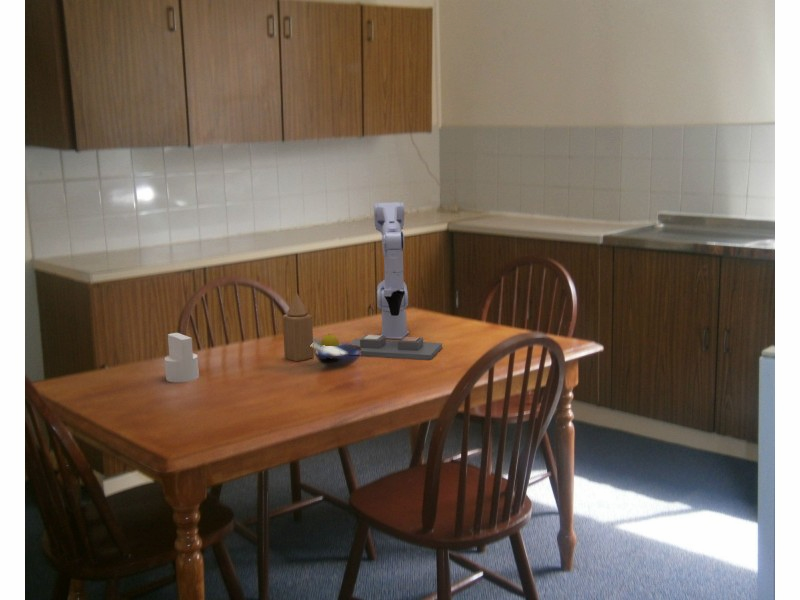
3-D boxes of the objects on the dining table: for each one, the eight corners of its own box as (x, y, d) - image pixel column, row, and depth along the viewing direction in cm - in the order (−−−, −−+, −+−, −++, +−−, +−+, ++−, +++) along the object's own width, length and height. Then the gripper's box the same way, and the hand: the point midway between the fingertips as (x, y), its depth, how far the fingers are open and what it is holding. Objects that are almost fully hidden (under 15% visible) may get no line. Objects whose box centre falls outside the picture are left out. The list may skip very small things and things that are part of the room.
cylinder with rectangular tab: (160, 377, 255) (157, 336, 253) (189, 371, 261) (186, 330, 258) (175, 384, 248) (171, 342, 246) (204, 377, 254) (201, 336, 251)
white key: (368, 341, 281) (368, 334, 280) (382, 341, 279) (381, 335, 279) (363, 344, 277) (363, 338, 276) (377, 345, 275) (377, 339, 275)
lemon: (317, 360, 269) (316, 334, 267) (331, 356, 273) (330, 330, 271) (329, 363, 265) (328, 337, 263) (343, 359, 269) (342, 333, 267)
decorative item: (314, 358, 271) (311, 292, 267) (296, 362, 267) (292, 295, 263) (302, 353, 276) (299, 289, 272) (283, 358, 272) (280, 292, 268)
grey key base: (356, 343, 287) (355, 330, 286) (442, 347, 279) (441, 335, 279) (340, 354, 274) (340, 341, 273) (430, 360, 266) (430, 346, 265)
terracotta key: (405, 343, 277) (405, 336, 277) (419, 343, 276) (419, 337, 276) (401, 346, 273) (401, 340, 273) (415, 347, 272) (415, 341, 272)
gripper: (388, 267, 283) (389, 309, 286) (373, 275, 270) (375, 319, 272) (410, 267, 281) (411, 310, 284) (396, 275, 268) (397, 320, 270)
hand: (394, 315), depth 278 cm, fingers closed
